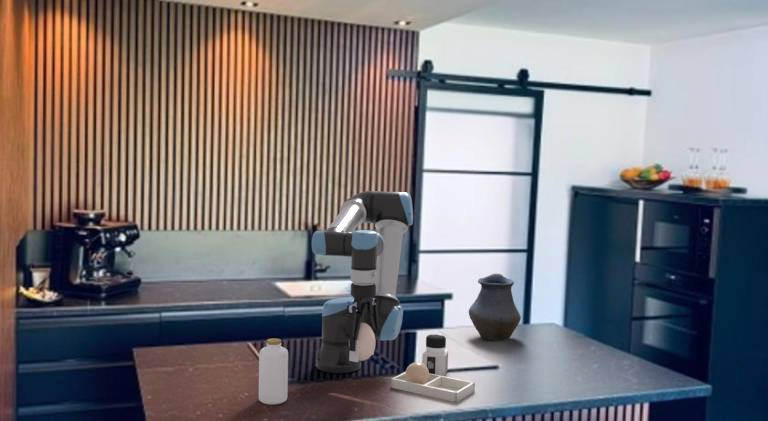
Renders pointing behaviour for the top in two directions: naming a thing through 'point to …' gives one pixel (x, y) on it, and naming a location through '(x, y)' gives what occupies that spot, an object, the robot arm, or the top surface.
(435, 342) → the container
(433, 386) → the tray
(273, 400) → the white bottle
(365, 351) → the egg
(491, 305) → the dark clay urn
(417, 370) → the beige ball
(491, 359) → the top surface
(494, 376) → the top surface
